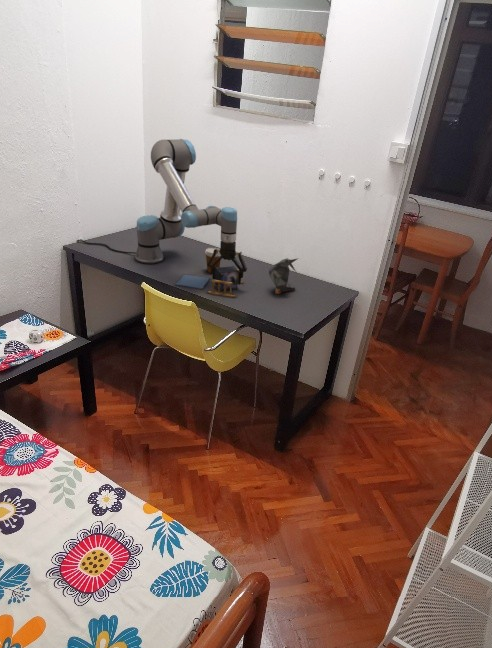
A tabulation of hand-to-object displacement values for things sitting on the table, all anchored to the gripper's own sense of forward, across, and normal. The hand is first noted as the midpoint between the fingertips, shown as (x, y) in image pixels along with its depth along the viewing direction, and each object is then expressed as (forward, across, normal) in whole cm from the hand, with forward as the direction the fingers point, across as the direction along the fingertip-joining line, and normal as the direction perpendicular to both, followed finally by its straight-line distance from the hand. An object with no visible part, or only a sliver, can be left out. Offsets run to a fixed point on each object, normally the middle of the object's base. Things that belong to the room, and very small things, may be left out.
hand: (226, 281), depth 234 cm
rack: (+4, 0, 0) cm, 4 cm away
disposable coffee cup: (+4, -12, +19) cm, 23 cm away
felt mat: (+4, -18, +1) cm, 19 cm away
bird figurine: (+4, +28, +7) cm, 29 cm away
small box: (+4, 0, 0) cm, 4 cm away
